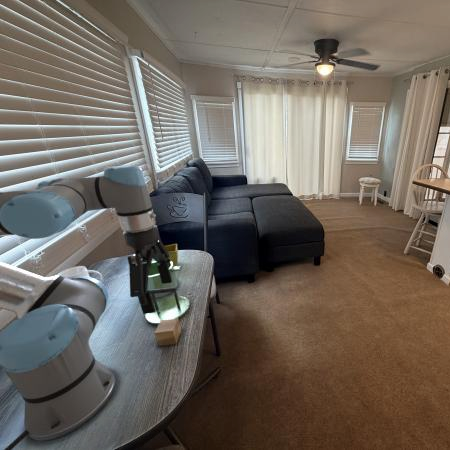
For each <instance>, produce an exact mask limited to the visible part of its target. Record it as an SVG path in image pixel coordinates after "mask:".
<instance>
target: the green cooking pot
mask: <svg viewBox="0 0 450 450" xmlns="http://www.w3.org/2000/svg"><path fill="white" fill-rule="evenodd" d="M158 264H160V263H157V262H156V261H155V260H154V261H152V264H151V266H150V267H149V277H148V290H153V289H163V288H172V287H176V288H177V287H178V285H179V283H178V279H177V275H176V272H180V271H181V269H182V266H181V265H177V266H173V262H171V261H170V262H169V263H167V264H168V267H169V271H170V275H171V279H172V282H171V283H165V284H162V282H161V278H160V274H159V271H158V267H157V265H158ZM128 275H129V276H130V273H129V272H128ZM171 293H172V292H168V293H159V294H155V297H156V299H158V298H163V297H165V296H167V295H169V294H171ZM151 296H152V295H151Z"/></svg>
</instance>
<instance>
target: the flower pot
mask: <svg viewBox="0 0 450 450" xmlns="http://www.w3.org/2000/svg"><path fill="white" fill-rule="evenodd" d="M164 247H165V249H166V250H167V252H168V254H169V258H167V259H170V260H171V262H173V266H178V261H179V260H178V259H179V251H178V243H173V244H168V245H164ZM163 255H164V254H163Z"/></svg>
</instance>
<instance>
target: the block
mask: <svg viewBox="0 0 450 450" xmlns="http://www.w3.org/2000/svg"><path fill="white" fill-rule="evenodd" d="M181 334H182V328H181V324H180V320H179V318H178V319H170V320H162V321H160V323H159V324H157V328H156V329H155V331H154V336H155V339H156V343H157V346H158V347H161V346H162V347H163V346H168V345H169V346H170V345H176V344H177V343H178V340H179V339H180V336H181Z"/></svg>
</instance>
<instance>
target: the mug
mask: <svg viewBox="0 0 450 450" xmlns="http://www.w3.org/2000/svg"><path fill="white" fill-rule="evenodd" d="M91 273H95V274H98V275H99V277H100V280H99V281H100V282H101V283H102V284H103V281H104V279H103V278H104V276H103V275H102V273H101V272H99V271H97V270H93V269H87V267H86V266H84V265H78V266H73V267H69V268H66V269H63V270H62V271H60V272H59V273H57V275H60V276H63V277H66V278H68V279H71V278H74V277H81V276H85V277H91V276H90V274H91Z"/></svg>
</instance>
